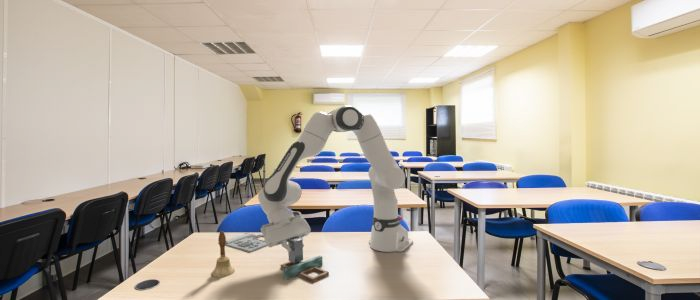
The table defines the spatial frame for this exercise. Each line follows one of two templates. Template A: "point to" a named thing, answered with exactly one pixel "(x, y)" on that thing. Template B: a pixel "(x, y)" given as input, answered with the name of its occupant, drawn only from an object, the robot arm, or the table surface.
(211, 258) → the table surface
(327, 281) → the table surface
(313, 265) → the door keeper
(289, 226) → the robot arm
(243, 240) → the office telephone
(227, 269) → the hand bell
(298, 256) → the gray block
